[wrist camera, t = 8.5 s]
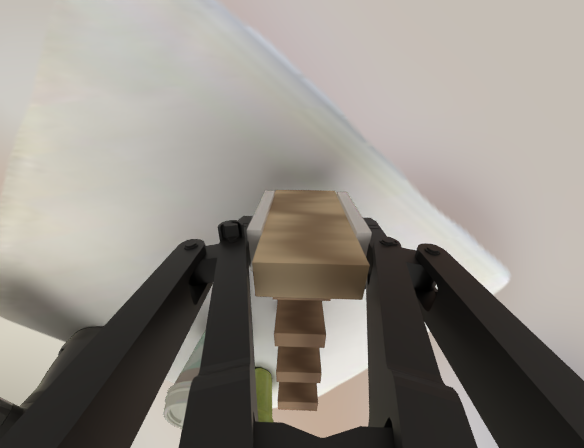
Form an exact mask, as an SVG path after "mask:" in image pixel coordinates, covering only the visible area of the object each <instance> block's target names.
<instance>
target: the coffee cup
mask: <svg viewBox="0 0 584 448" xmlns="http://www.w3.org/2000/svg"><path fill="white" fill-rule="evenodd" d="M205 333H206V330H205V332H204V334H203V335H202V337H201V339H200V341H199V342H198V344H197V346H196V347H195V349H194V351H193V353H192V354H191V356H190V358H189V360H188V361H187V363H186V365H185V367H184V368H183V370H182V372H181V373H180V375H179V377H178V379H177V381H176V382H175V384H174V385H173V386H171V387H170V388H169V390H168V392H167V396H166V399H165V403H166V404H165V408H164V413H163V414H164V417H165V419H166V420H167V421H168V422H169V423H170V424H172V425H174V426H176V427H178V428H180V429H182V427H183V422H184V417H185V411H186V406H187V400H188V395H189V390H190V386H191V382H192V380H193V378H194V377H196V376H198V373H199V370H200V364H201V358H202V352H203V345H204V339H205Z"/></svg>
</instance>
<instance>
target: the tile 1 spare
mask: <svg viewBox="0 0 584 448" xmlns="http://www.w3.org/2000/svg"><path fill="white" fill-rule="evenodd" d="M369 266H370V265H369V263H368V261H367V258H366V256H365V254H364V252H363V250H362V248H361V246H360V244H359V241H358V239H357V238H356V236H355V234H354V232H353V230H352V228H351V225H350V223H349V221H348V219H347V217H346V215H345V212H344V210H343V208H342V206H341V204H340V202H339V199H338V197H337V194H336V192H335V191H313V190H276V191H275V195H274V198H273V201H272V205H271V208H270V211H269V214H268V217H267V220H266V223H265V226H264V229H263V232H262V235H261V237H260V240H259V243H258V246H257V249H256V252H255V255H254V258H253V261H252V267H253V276H254V286H255V296H258V297H291V298H325V299H358V300H362V298H363V294H364V289H365V285H366V280H367V275H368V271H369Z"/></svg>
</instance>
